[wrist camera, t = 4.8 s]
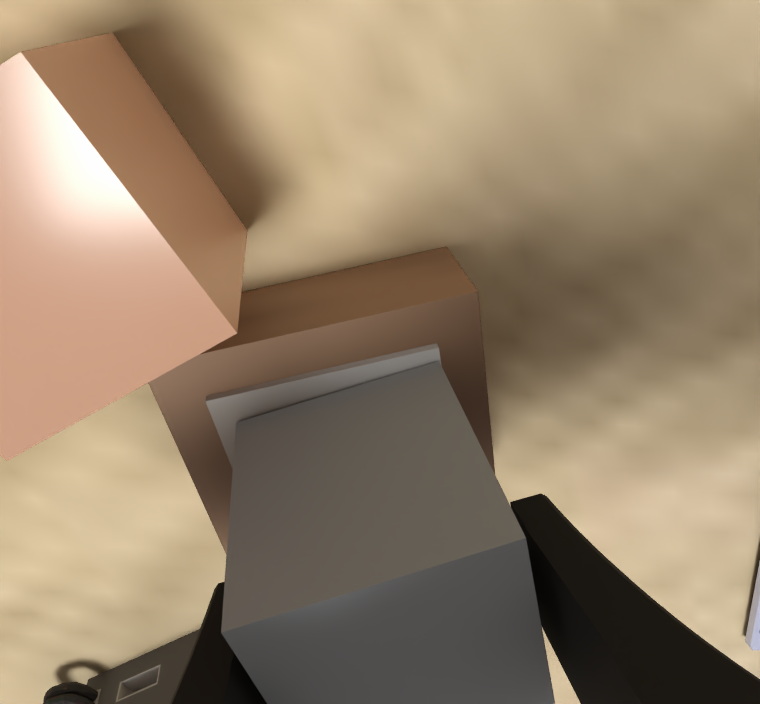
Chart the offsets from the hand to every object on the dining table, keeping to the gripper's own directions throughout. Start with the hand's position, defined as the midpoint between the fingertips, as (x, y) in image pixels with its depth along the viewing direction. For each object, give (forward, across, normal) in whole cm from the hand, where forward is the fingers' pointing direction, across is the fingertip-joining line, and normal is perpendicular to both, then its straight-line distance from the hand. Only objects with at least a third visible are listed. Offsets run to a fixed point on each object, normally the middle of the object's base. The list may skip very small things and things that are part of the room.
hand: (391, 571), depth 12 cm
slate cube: (+3, 0, 0) cm, 3 cm away
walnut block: (+6, 0, 0) cm, 6 cm away
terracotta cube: (+6, +4, -7) cm, 10 cm away
